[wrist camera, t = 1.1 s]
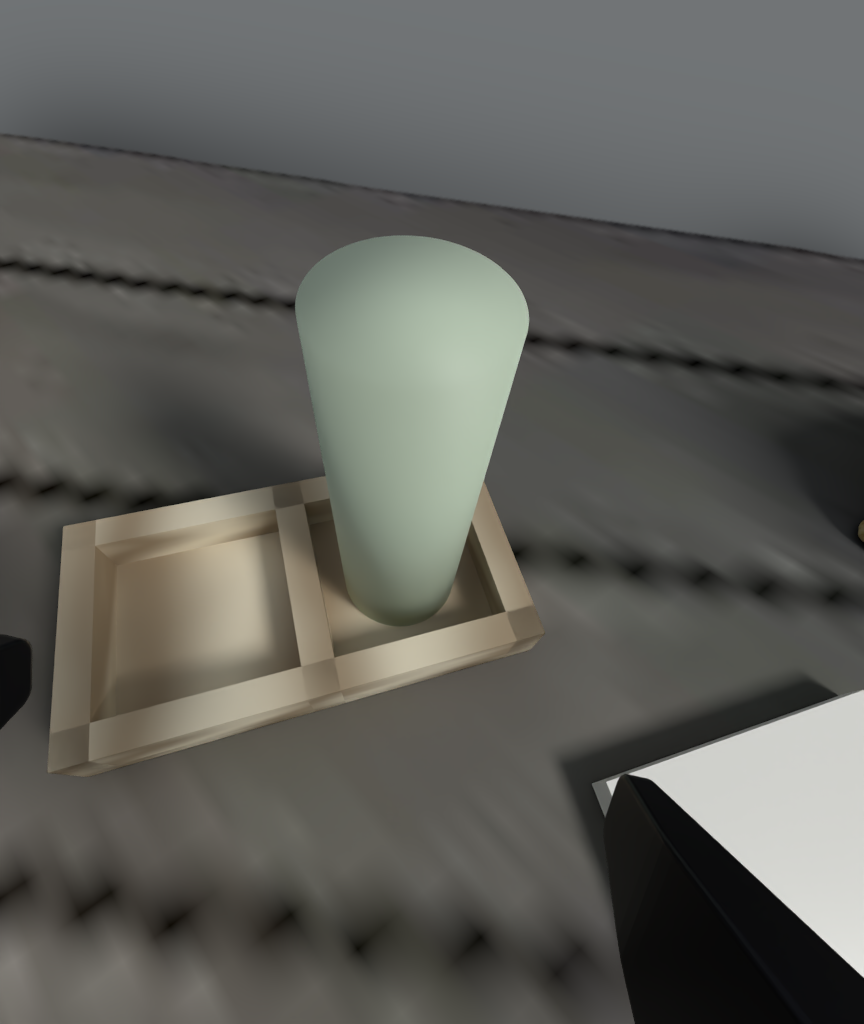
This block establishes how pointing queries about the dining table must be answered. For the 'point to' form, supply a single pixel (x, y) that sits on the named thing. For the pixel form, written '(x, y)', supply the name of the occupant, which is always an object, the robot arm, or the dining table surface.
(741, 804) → the board
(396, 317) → the round block
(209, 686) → the frame
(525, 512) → the dining table surface
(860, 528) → the rock
